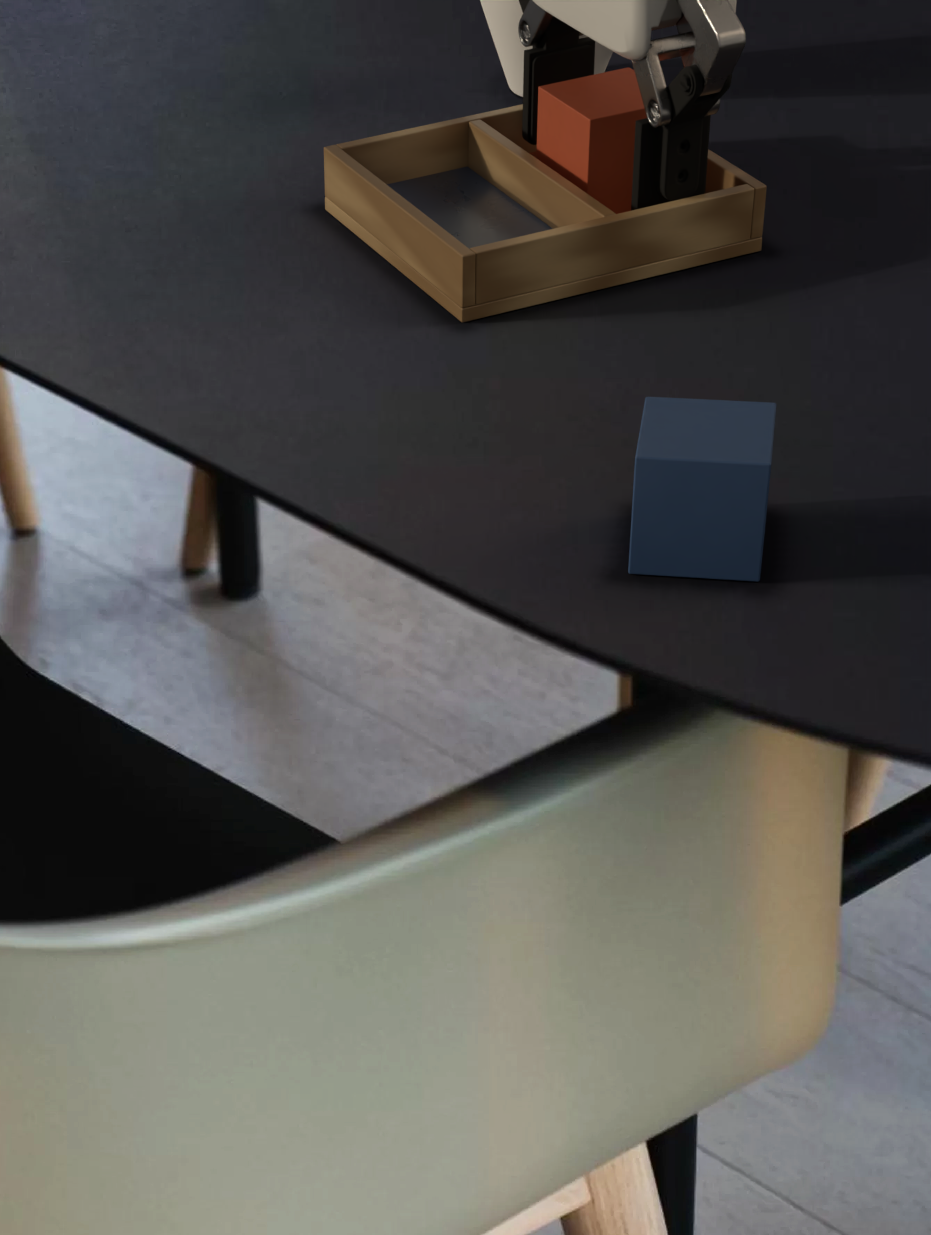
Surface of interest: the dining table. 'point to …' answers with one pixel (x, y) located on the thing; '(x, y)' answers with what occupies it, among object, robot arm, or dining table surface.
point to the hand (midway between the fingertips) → (610, 172)
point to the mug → (503, 26)
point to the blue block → (701, 488)
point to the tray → (520, 217)
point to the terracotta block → (592, 133)
